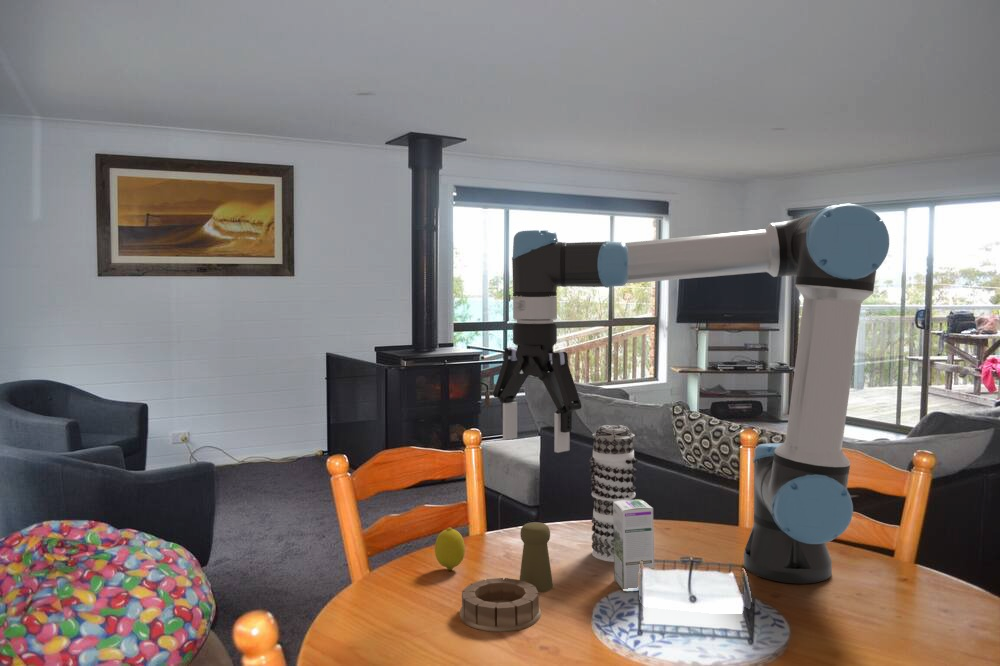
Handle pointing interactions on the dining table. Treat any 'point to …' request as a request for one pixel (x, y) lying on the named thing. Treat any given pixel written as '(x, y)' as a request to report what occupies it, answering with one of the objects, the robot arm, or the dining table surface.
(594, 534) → the decorative candle
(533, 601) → the collar
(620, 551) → the syrup box
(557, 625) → the dining table surface
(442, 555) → the lemon
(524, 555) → the olive green knobbed peg
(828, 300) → the robot arm
